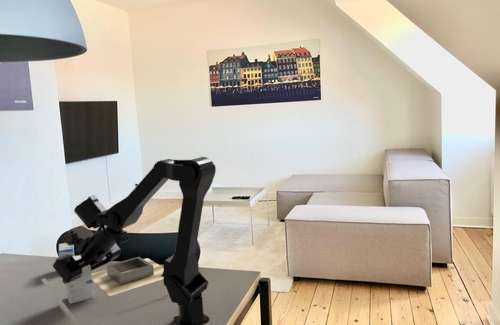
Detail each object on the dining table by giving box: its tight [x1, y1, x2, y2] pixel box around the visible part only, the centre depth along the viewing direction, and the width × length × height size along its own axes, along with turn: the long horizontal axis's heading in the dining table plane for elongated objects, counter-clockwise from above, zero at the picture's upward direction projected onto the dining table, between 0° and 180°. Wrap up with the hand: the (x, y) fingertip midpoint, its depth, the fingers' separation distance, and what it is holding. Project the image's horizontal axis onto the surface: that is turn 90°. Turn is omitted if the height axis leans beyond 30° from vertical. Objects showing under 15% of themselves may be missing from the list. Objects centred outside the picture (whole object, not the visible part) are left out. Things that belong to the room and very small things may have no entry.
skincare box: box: [65, 254, 94, 304], centre depth 107 cm, size 6×4×12 cm
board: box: [91, 258, 164, 297], centre depth 122 cm, size 20×20×1 cm
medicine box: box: [58, 242, 75, 259], centre depth 129 cm, size 8×4×9 cm, turn 25°
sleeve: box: [106, 256, 154, 285], centre depth 122 cm, size 10×10×3 cm
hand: (74, 276), depth 108 cm, fingers closed on skincare box, 7 cm apart
